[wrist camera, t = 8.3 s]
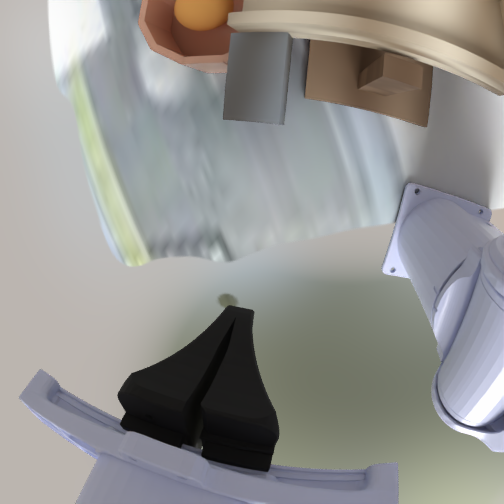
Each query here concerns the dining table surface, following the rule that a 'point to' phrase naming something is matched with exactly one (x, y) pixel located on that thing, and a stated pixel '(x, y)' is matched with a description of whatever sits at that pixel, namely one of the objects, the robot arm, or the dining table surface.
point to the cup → (185, 37)
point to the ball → (203, 13)
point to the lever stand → (369, 80)
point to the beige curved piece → (357, 43)
